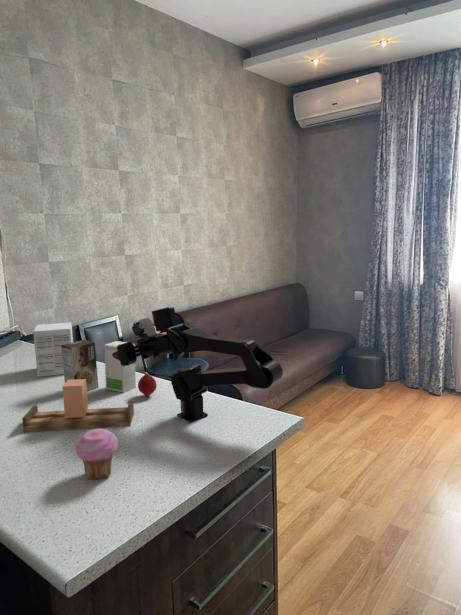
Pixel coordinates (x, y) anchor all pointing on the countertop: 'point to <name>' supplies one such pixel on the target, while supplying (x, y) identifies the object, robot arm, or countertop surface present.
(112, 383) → the skincare box
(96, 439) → the cupcake
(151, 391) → the onion
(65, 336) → the supplement box
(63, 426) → the wooden slide track
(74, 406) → the block
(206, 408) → the countertop surface
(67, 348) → the coffee box
